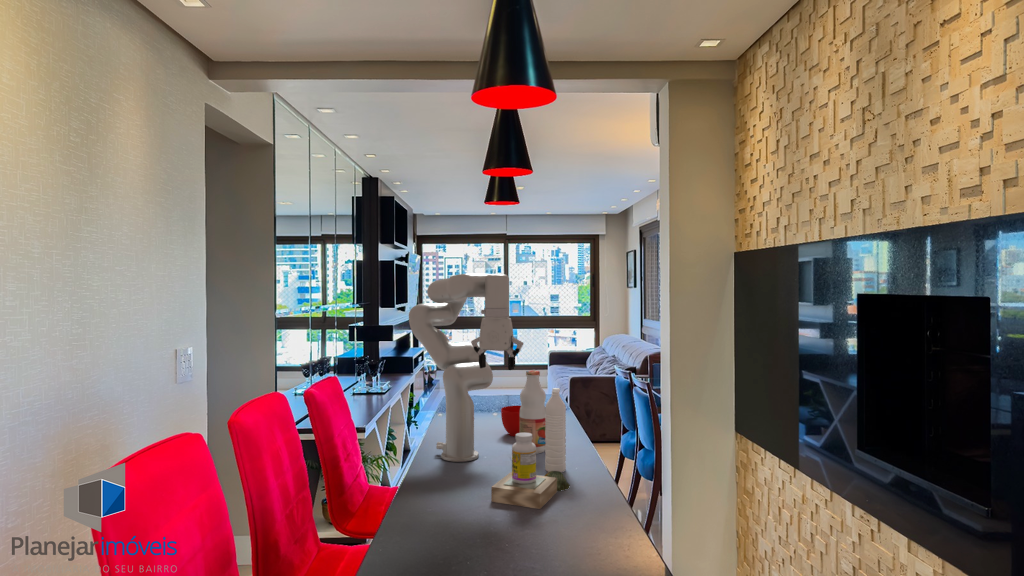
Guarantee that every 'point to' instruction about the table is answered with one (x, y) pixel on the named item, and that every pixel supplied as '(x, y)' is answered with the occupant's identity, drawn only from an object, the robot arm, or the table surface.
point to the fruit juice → (533, 410)
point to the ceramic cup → (511, 419)
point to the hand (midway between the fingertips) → (496, 368)
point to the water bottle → (555, 433)
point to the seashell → (559, 480)
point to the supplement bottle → (523, 459)
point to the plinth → (524, 491)
